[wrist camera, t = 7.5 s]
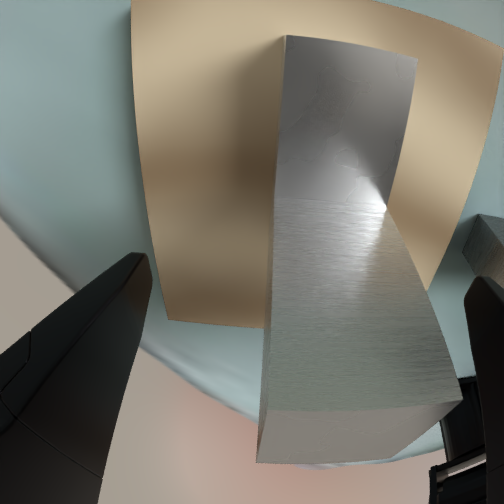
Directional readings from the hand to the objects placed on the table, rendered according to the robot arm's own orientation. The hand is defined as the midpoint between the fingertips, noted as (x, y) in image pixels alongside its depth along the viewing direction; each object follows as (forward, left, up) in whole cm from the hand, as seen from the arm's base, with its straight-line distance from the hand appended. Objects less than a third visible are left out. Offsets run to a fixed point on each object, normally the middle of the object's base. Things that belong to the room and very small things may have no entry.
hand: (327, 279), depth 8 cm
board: (0, 0, -5) cm, 5 cm away
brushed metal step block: (+2, 0, -4) cm, 4 cm away
